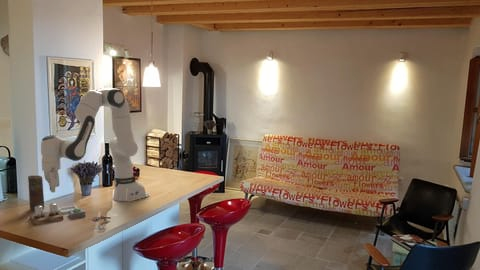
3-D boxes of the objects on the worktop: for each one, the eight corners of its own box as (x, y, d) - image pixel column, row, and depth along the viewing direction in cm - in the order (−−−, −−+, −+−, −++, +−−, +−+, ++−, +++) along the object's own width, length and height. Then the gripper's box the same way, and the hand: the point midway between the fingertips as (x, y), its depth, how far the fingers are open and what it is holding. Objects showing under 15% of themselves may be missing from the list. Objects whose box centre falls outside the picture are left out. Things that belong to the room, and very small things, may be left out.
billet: (56, 216, 201) (56, 202, 200) (58, 218, 199) (57, 204, 198) (49, 218, 199) (48, 203, 198) (50, 220, 196) (50, 205, 195)
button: (79, 212, 205) (78, 207, 204) (80, 213, 202) (80, 208, 202) (73, 213, 203) (73, 208, 202) (74, 214, 201) (74, 209, 200)
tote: (75, 207, 216) (75, 205, 216) (78, 211, 210) (78, 209, 210) (58, 210, 211) (58, 208, 211) (61, 214, 204) (61, 212, 204)
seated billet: (42, 219, 197) (41, 205, 196) (43, 221, 194) (43, 206, 193) (35, 220, 195) (34, 206, 194) (36, 222, 192) (35, 208, 191)
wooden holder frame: (58, 213, 206) (58, 209, 205) (63, 220, 196) (63, 216, 196) (30, 219, 197) (30, 214, 197) (33, 226, 188) (33, 221, 188)
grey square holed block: (82, 213, 208) (82, 208, 207) (85, 216, 202) (85, 211, 202) (68, 215, 203) (68, 210, 203) (71, 219, 198) (71, 214, 198)
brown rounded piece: (31, 208, 214) (29, 174, 212) (45, 206, 217) (43, 173, 214) (28, 212, 207) (26, 177, 205) (43, 211, 210) (41, 177, 207)
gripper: (62, 169, 189) (63, 195, 191) (53, 162, 205) (55, 186, 207) (48, 170, 185) (49, 197, 187) (41, 163, 201) (42, 187, 203)
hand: (52, 191), depth 197 cm, fingers closed
